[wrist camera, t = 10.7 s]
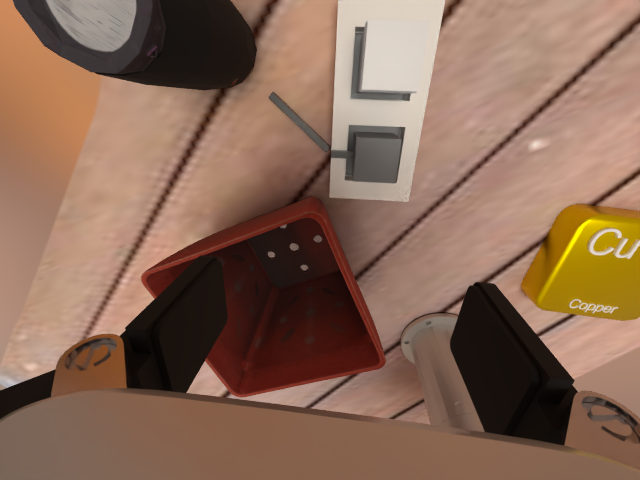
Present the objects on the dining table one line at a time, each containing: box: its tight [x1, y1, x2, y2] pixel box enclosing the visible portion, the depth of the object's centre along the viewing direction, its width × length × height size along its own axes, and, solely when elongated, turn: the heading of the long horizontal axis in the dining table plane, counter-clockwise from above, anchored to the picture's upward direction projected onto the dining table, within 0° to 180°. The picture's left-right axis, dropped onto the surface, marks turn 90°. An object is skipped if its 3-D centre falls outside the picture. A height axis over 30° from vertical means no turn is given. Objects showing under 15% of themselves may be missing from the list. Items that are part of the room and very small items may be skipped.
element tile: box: [521, 204, 640, 321], centre depth 38 cm, size 15×15×5 cm
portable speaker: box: [13, 0, 257, 90], centre depth 23 cm, size 9×9×20 cm
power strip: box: [269, 0, 445, 202], centre depth 31 cm, size 18×20×7 cm
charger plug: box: [357, 20, 430, 94], centre depth 27 cm, size 5×5×9 cm
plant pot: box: [141, 197, 386, 397], centre depth 35 cm, size 19×19×17 cm
